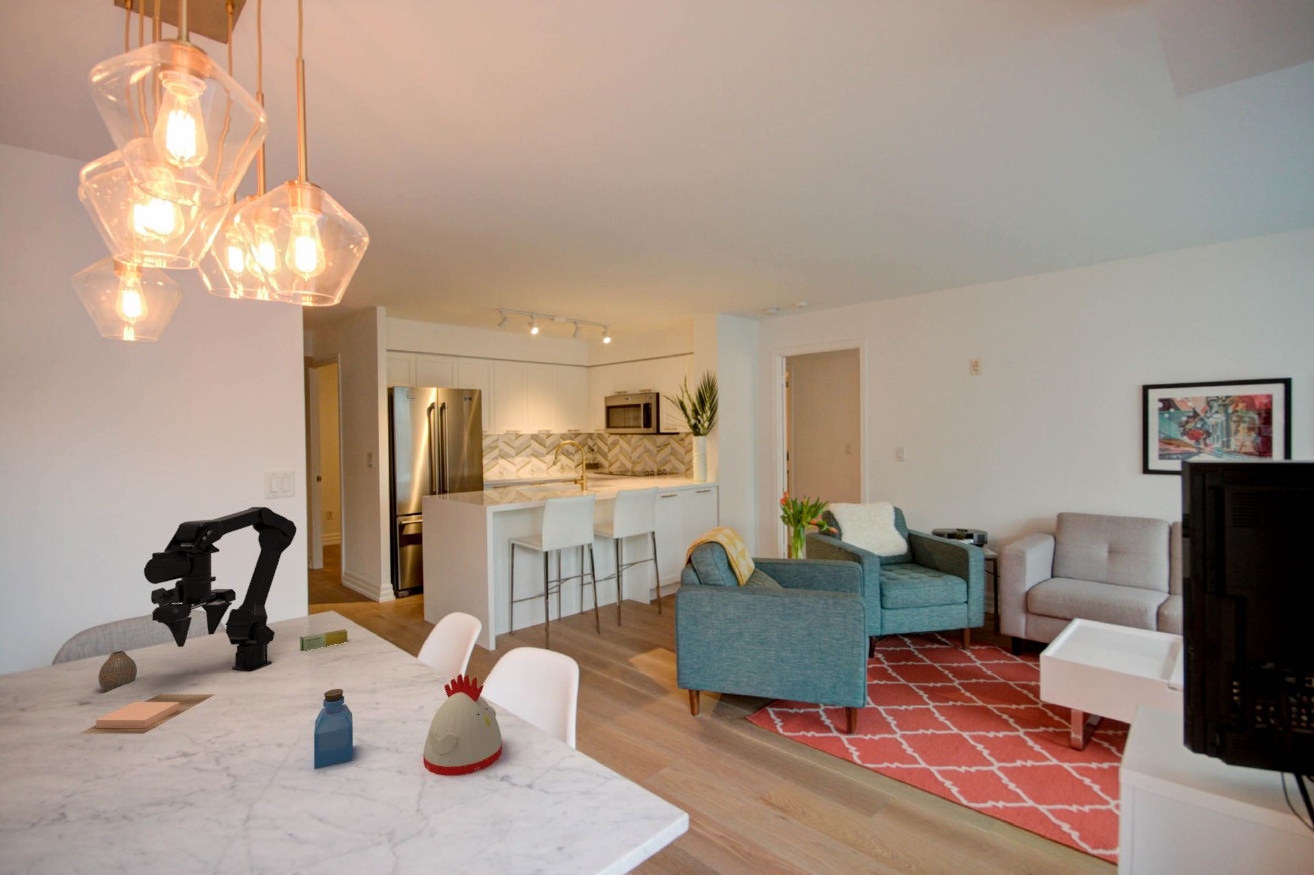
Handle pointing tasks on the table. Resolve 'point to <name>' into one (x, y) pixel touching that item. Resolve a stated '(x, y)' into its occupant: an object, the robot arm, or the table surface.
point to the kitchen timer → (462, 732)
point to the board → (184, 704)
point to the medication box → (323, 640)
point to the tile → (138, 715)
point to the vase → (117, 671)
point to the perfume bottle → (333, 731)
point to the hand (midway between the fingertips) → (196, 640)
